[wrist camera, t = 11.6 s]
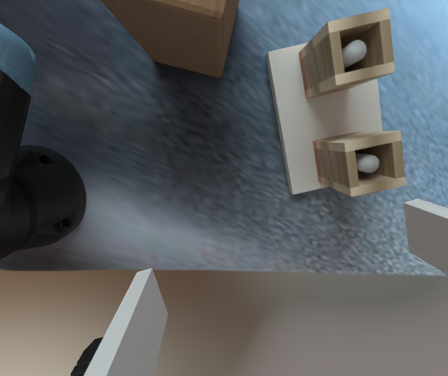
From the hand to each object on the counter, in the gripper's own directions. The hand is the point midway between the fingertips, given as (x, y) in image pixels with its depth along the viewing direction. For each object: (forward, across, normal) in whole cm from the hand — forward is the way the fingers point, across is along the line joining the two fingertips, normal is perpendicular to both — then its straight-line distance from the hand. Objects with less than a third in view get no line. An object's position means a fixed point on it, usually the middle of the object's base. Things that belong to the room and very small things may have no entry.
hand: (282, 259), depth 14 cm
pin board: (+28, +15, +5) cm, 32 cm away
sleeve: (+26, +15, -1) cm, 30 cm away
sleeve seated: (+26, +15, +11) cm, 32 cm away
